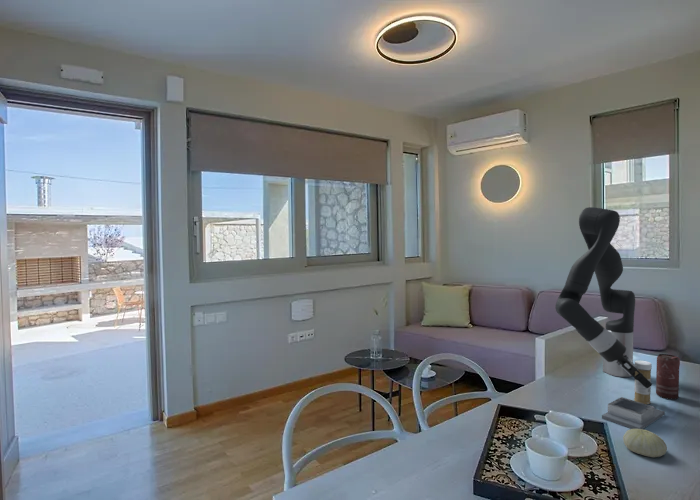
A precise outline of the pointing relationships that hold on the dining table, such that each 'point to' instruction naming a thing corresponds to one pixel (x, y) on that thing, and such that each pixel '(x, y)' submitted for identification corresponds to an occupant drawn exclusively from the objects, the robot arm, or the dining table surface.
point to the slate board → (633, 425)
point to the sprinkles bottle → (640, 391)
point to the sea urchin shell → (644, 443)
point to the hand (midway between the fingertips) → (645, 381)
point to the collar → (631, 410)
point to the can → (667, 376)
